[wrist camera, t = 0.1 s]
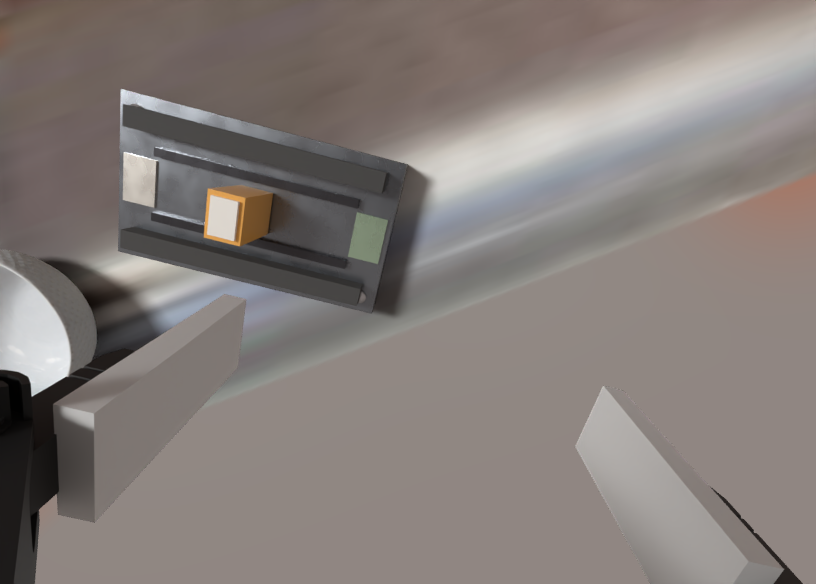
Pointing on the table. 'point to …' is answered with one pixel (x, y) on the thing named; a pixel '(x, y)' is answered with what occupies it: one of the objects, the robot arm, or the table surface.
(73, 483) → the robot arm
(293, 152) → the long dark grey rail
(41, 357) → the cereal bowl
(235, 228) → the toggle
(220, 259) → the dark grey edge bar
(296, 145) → the grey slider base
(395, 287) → the table surface
